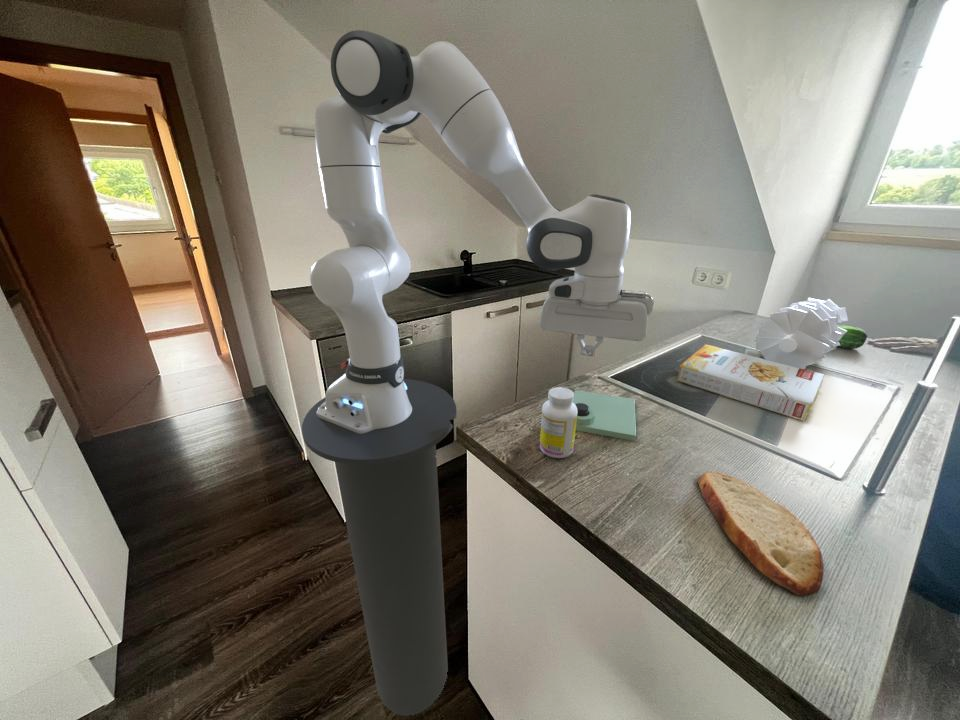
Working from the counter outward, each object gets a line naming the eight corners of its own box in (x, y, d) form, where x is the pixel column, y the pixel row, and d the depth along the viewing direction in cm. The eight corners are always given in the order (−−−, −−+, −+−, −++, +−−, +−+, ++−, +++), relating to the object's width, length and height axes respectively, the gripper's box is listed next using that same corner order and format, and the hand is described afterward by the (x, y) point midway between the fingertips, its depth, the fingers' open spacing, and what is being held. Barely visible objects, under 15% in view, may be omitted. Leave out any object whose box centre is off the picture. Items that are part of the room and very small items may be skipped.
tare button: (573, 415, 84) (573, 408, 83) (574, 408, 86) (575, 402, 86) (587, 418, 83) (588, 411, 82) (588, 411, 85) (589, 404, 85)
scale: (564, 428, 84) (565, 416, 83) (572, 394, 98) (574, 383, 97) (634, 441, 80) (637, 429, 78) (633, 404, 94) (635, 393, 92)
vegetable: (871, 327, 120) (792, 314, 133) (862, 349, 120) (784, 333, 134) (869, 332, 125) (793, 319, 139) (860, 353, 126) (785, 338, 139)
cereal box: (704, 342, 115) (826, 371, 97) (700, 359, 117) (818, 391, 99) (679, 364, 102) (815, 402, 84) (675, 382, 104) (806, 423, 86)
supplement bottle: (560, 436, 81) (566, 382, 76) (579, 454, 76) (587, 397, 70) (533, 443, 79) (536, 388, 74) (550, 463, 73) (556, 404, 68)
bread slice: (703, 472, 71) (707, 455, 69) (829, 526, 60) (838, 508, 58) (666, 528, 59) (671, 510, 58) (815, 610, 48) (826, 590, 46)
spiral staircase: (757, 377, 116) (785, 353, 130) (834, 373, 101) (856, 346, 115) (742, 319, 114) (772, 300, 128) (818, 306, 99) (843, 287, 113)
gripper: (654, 288, 73) (641, 356, 79) (546, 280, 79) (541, 343, 85) (656, 296, 68) (642, 368, 73) (540, 287, 74) (536, 353, 79)
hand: (587, 354), depth 79 cm, fingers closed
